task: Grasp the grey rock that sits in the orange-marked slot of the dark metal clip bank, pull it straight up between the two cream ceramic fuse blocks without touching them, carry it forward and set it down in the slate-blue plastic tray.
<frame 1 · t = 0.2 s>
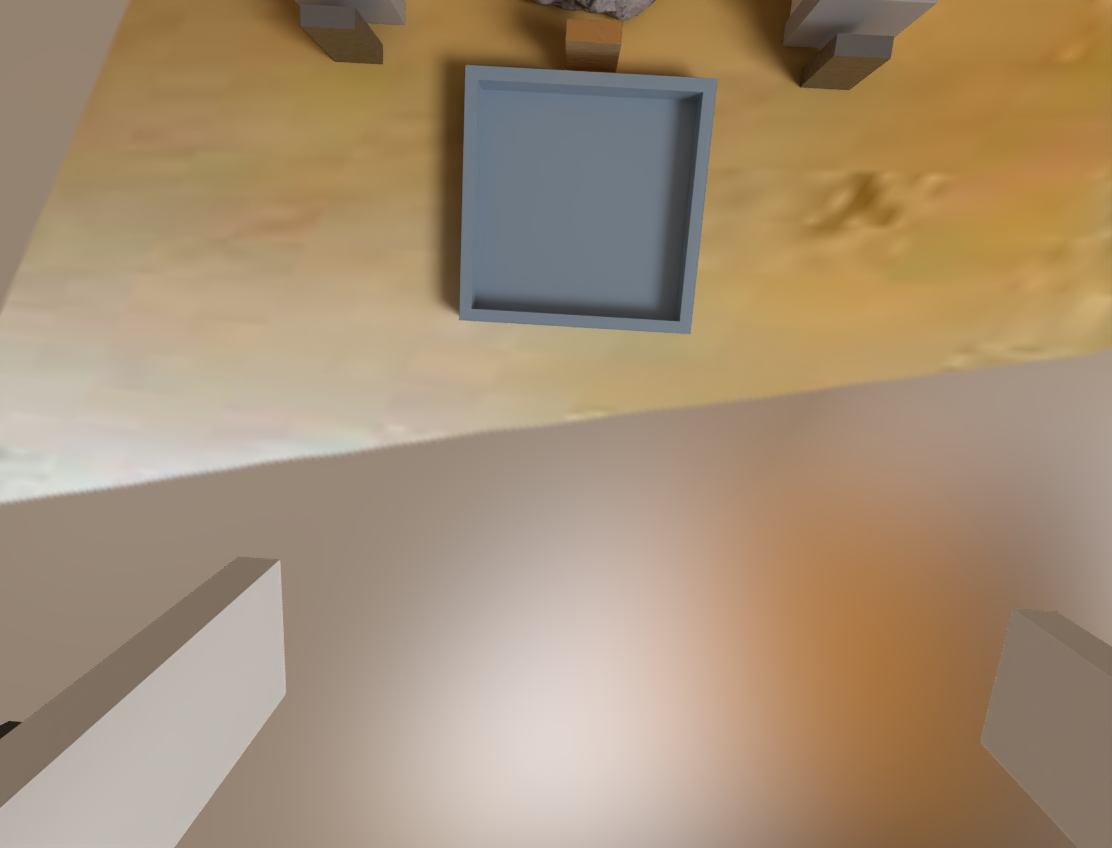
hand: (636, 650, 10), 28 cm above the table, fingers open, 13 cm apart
tray: (581, 210, 35), on the table
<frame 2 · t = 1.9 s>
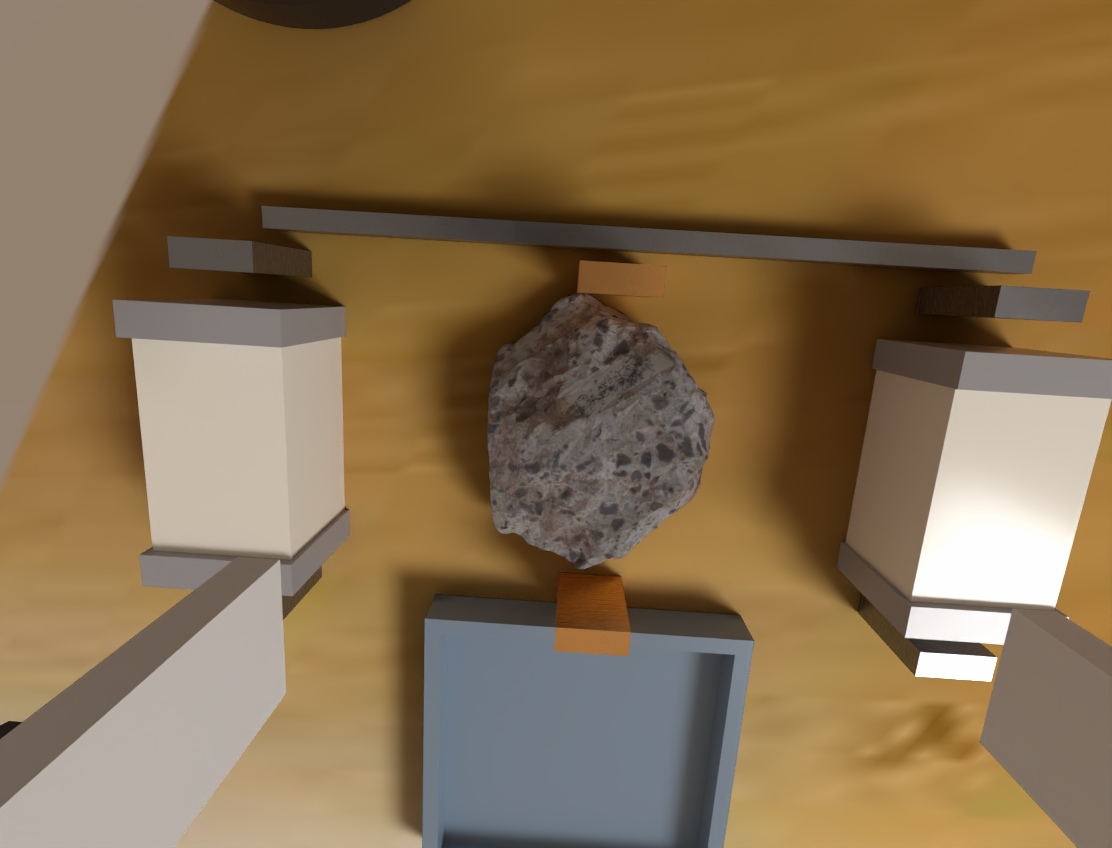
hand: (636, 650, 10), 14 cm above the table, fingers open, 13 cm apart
fuse 2: (919, 462, 24), on the table
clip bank: (600, 442, 24), on the table
tray: (577, 735, 28), on the table
fuse 1: (285, 421, 25), on the table
rock: (588, 432, 25), on the table
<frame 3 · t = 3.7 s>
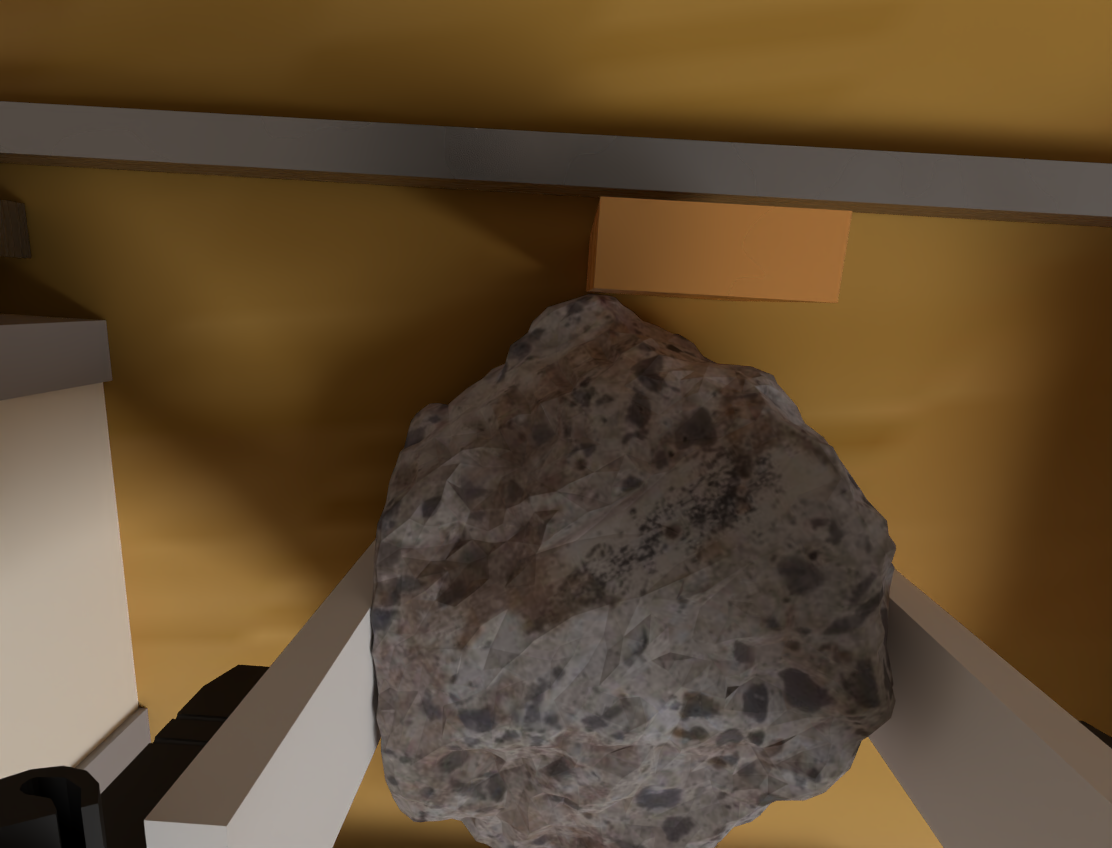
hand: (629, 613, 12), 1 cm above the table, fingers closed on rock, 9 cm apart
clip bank: (631, 590, 12), on the table
fuse 1: (8, 546, 13), on the table
rock: (605, 572, 13), on the table, touching gripper
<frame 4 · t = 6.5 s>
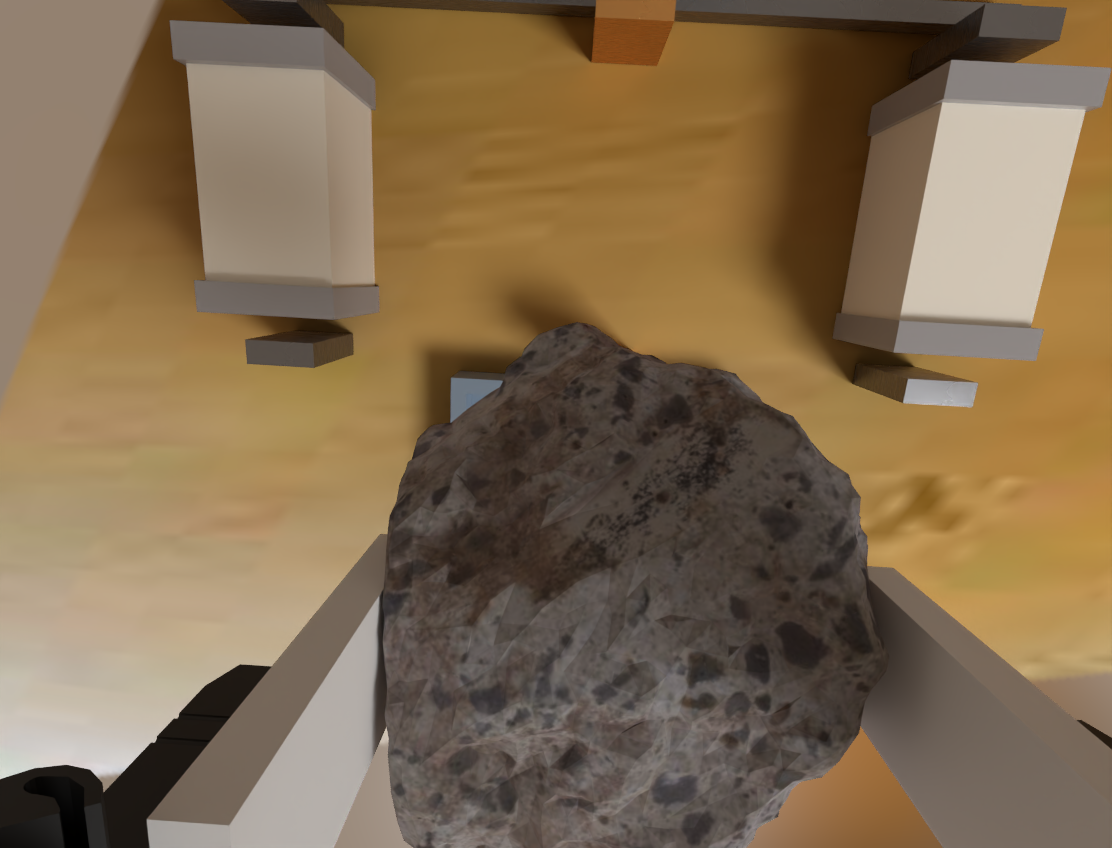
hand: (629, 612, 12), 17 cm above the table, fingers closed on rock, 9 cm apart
fuse 2: (911, 230, 26), on the table
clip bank: (612, 214, 26), on the table
tray: (590, 511, 30), on the table
fuse 1: (319, 198, 27), on the table
rock: (602, 596, 13), point 16 cm above the table, touching gripper
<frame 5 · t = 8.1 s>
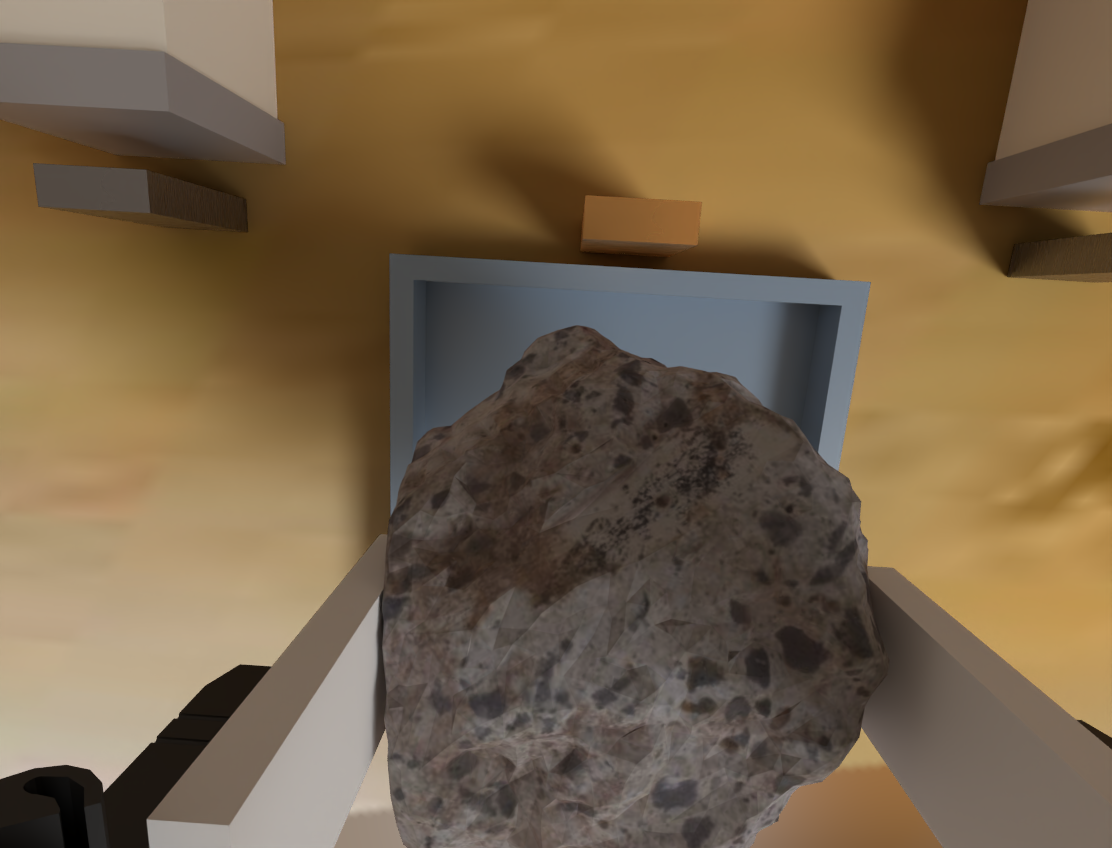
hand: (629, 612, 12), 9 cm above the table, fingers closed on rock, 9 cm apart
fuse 2: (1110, 27, 17), on the table
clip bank: (644, 1, 17), on the table
tray: (606, 476, 20), on the table
rock: (602, 599, 13), point 7 cm above the table, touching gripper
when the fingers open (3 cm above the table, at t = 9.4 s): rock drops 2 cm, resting on tray.
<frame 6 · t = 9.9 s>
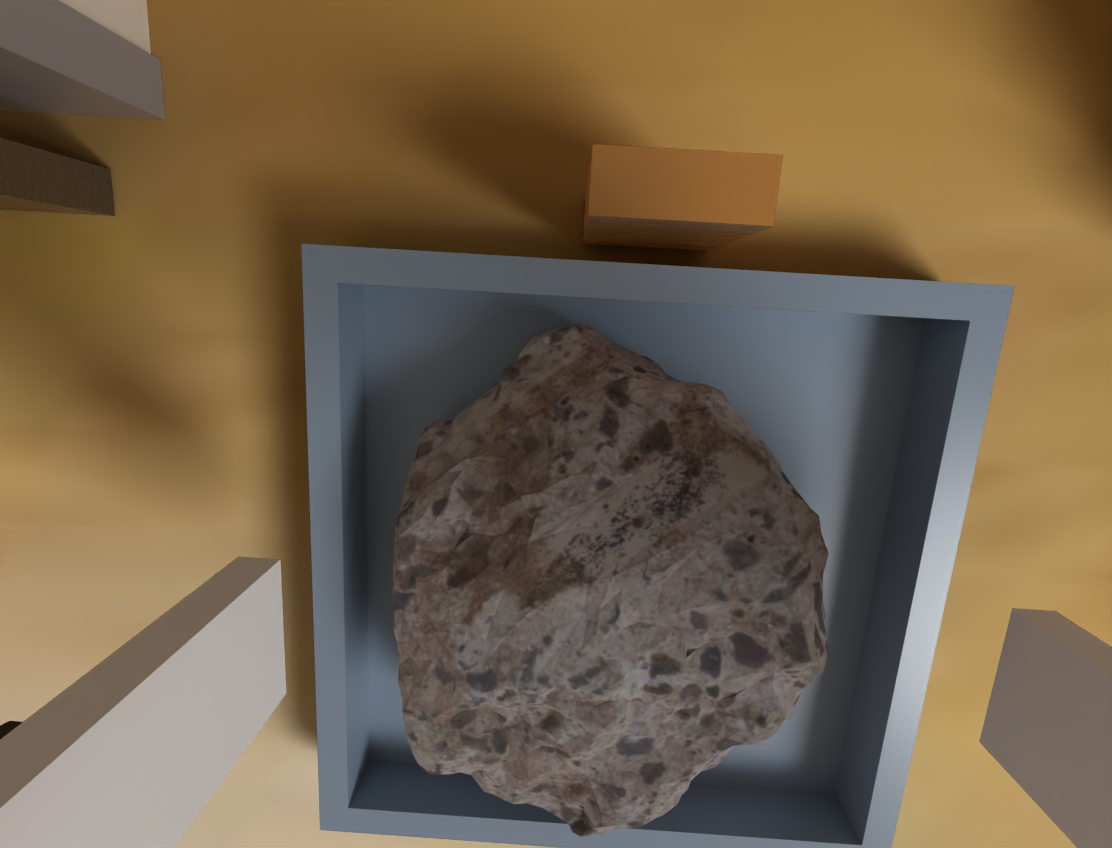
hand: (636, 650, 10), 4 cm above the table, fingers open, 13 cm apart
tray: (617, 552, 15), on the table
rock: (591, 562, 14), resting on tray
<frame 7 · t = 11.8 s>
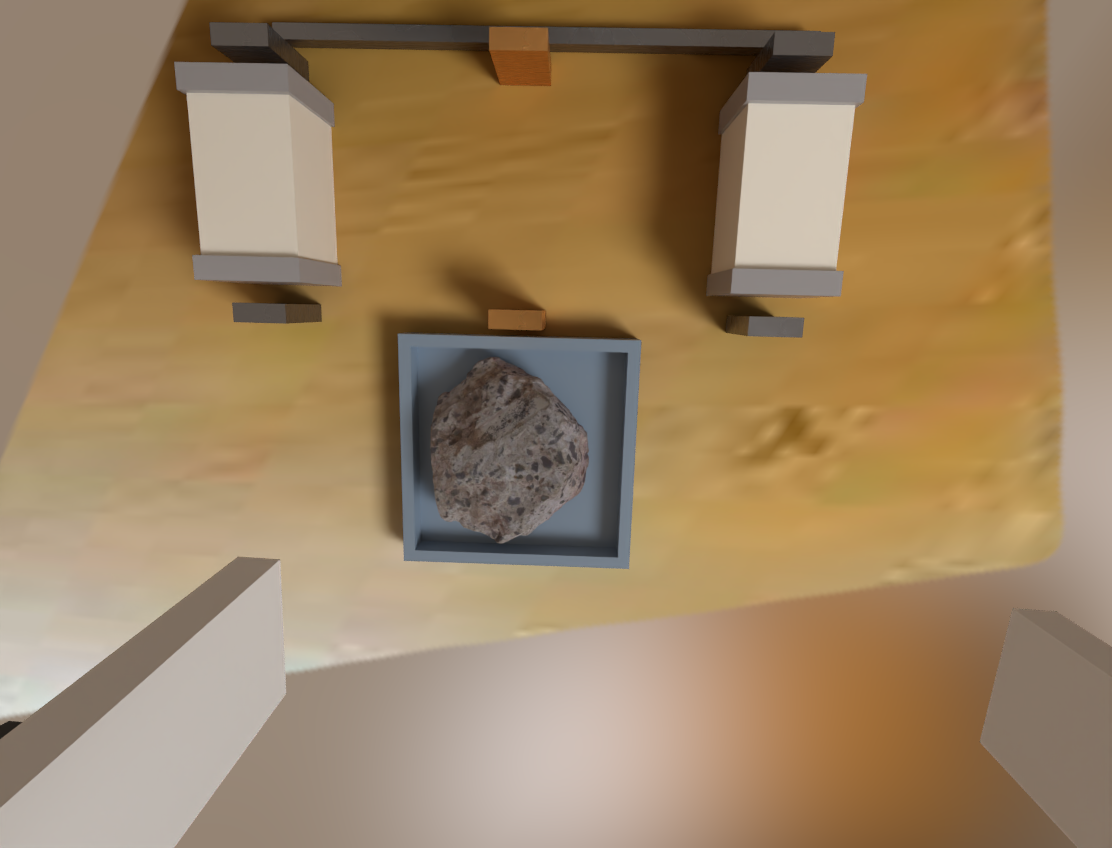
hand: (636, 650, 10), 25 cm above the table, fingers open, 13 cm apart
fuse 2: (760, 207, 33), on the table
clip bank: (523, 201, 33), on the table
tray: (520, 447, 36), on the table
fuse 1: (291, 196, 34), on the table
rock: (506, 450, 36), resting on tray
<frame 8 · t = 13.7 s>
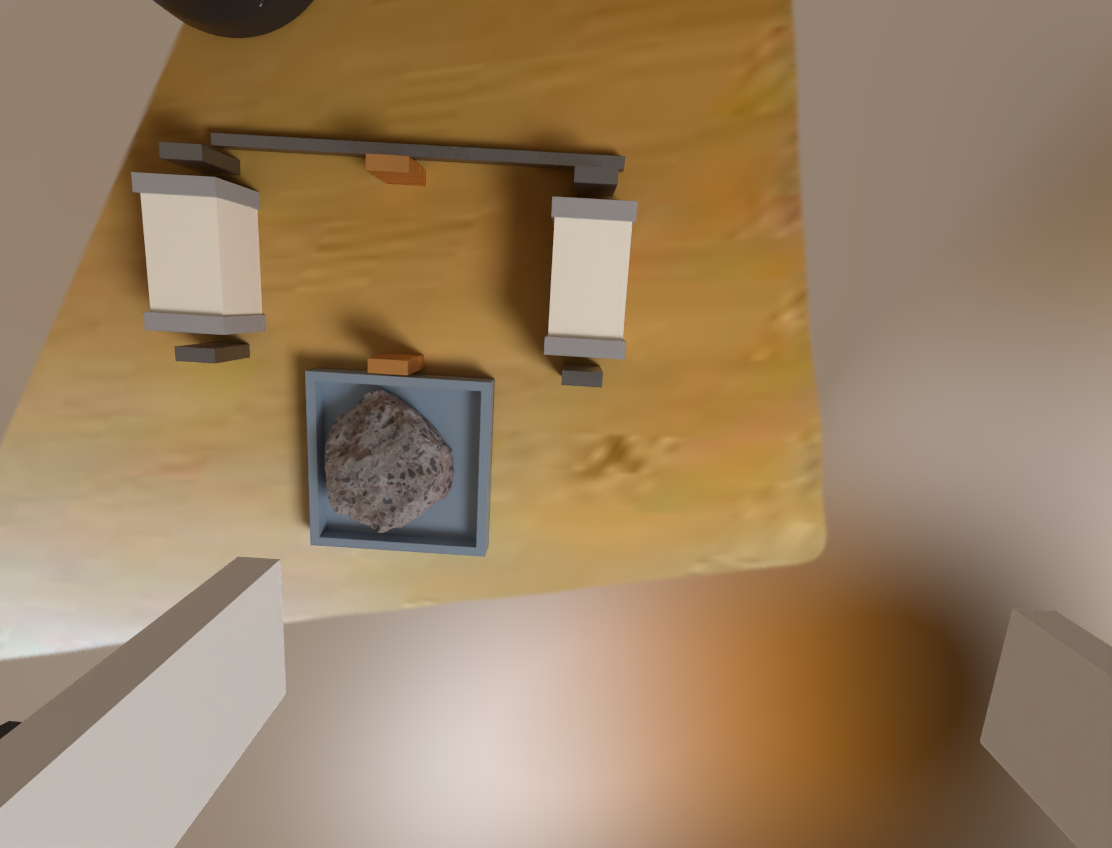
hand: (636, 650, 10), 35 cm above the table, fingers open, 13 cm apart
fuse 2: (587, 282, 43), on the table
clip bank: (405, 271, 43), on the table
tray: (405, 459, 46), on the table
fuse 1: (226, 261, 43), on the table
rock: (392, 460, 46), resting on tray
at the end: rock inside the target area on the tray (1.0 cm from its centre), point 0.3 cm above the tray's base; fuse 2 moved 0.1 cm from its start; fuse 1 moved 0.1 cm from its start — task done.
